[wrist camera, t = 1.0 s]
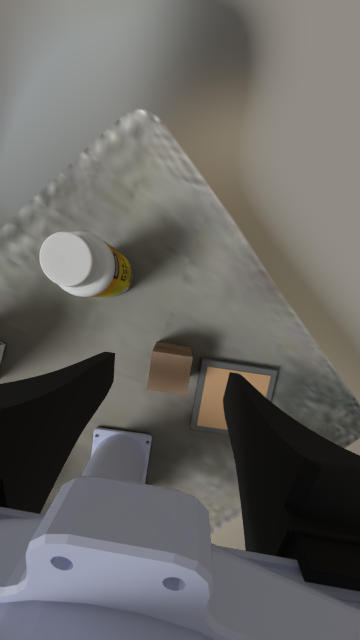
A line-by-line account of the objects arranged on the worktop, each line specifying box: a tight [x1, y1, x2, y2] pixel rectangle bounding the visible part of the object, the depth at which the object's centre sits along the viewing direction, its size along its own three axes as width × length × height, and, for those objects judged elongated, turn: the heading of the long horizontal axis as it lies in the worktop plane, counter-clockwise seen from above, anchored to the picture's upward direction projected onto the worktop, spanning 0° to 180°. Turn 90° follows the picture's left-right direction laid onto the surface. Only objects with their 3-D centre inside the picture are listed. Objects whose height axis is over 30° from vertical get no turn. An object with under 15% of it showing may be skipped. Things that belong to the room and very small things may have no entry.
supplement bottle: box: [40, 231, 133, 297], centre depth 19 cm, size 6×6×10 cm
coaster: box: [190, 358, 278, 435], centre depth 26 cm, size 10×10×1 cm
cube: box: [147, 342, 193, 395], centre depth 24 cm, size 4×4×4 cm
